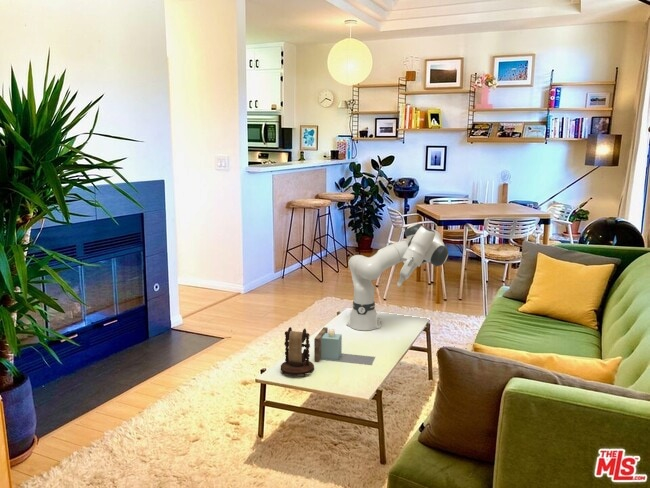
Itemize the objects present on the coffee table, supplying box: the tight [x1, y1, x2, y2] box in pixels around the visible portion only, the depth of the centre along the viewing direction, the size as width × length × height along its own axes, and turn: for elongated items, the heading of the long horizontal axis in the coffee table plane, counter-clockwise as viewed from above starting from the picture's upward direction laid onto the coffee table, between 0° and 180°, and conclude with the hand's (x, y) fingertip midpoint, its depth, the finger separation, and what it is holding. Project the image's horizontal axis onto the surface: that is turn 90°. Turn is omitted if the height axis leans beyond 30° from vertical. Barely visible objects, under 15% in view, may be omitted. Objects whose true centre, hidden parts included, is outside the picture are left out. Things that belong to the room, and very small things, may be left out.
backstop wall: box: [313, 327, 329, 363], centre depth 253 cm, size 16×2×12 cm, turn 165°
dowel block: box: [321, 328, 343, 360], centre depth 251 cm, size 7×8×13 cm
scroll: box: [280, 327, 315, 378], centre depth 236 cm, size 15×15×20 cm
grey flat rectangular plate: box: [320, 352, 376, 366], centre depth 250 cm, size 10×24×1 cm, turn 75°
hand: (398, 286), depth 243 cm, fingers closed
